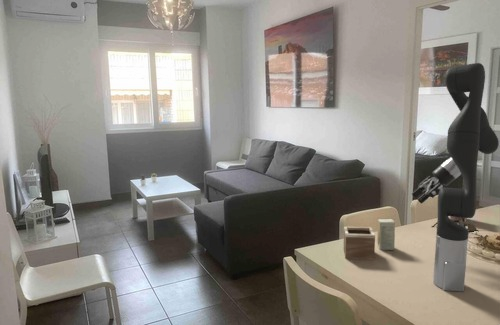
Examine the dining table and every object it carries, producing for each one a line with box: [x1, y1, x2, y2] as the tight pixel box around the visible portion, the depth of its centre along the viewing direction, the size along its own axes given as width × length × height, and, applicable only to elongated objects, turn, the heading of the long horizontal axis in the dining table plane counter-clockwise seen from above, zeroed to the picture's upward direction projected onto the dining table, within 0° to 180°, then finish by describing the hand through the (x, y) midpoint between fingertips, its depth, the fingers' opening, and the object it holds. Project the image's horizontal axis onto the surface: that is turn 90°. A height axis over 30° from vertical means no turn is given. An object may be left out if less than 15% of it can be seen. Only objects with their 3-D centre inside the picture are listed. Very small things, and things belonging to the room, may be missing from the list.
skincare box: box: [376, 218, 396, 251], centre depth 155 cm, size 6×4×12 cm
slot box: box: [343, 225, 376, 261], centre depth 149 cm, size 10×11×10 cm
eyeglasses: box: [431, 219, 479, 233], centre depth 174 cm, size 15×15×5 cm
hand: (416, 198), depth 149 cm, fingers open, 8 cm apart
